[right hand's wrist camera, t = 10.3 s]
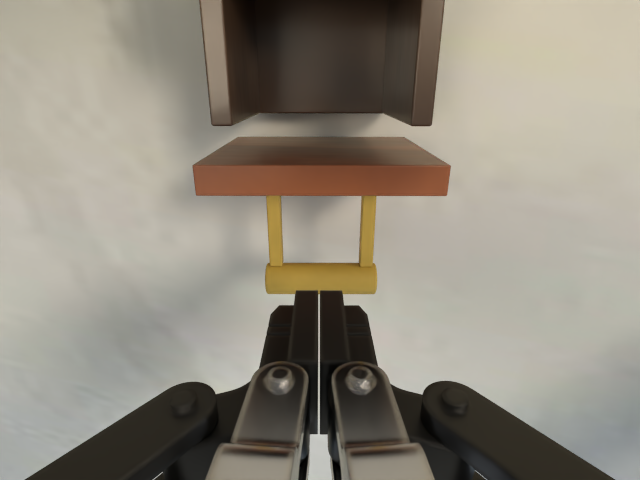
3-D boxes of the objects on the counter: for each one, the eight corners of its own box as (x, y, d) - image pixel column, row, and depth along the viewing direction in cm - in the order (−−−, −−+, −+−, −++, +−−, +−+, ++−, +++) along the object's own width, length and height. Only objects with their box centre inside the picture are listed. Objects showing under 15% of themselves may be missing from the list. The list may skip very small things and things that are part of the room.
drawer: (396, 243, 25) (431, 318, 17) (245, 243, 25) (210, 317, 17) (434, -236, 17) (539, -529, 9) (209, -236, 17) (108, -530, 9)
